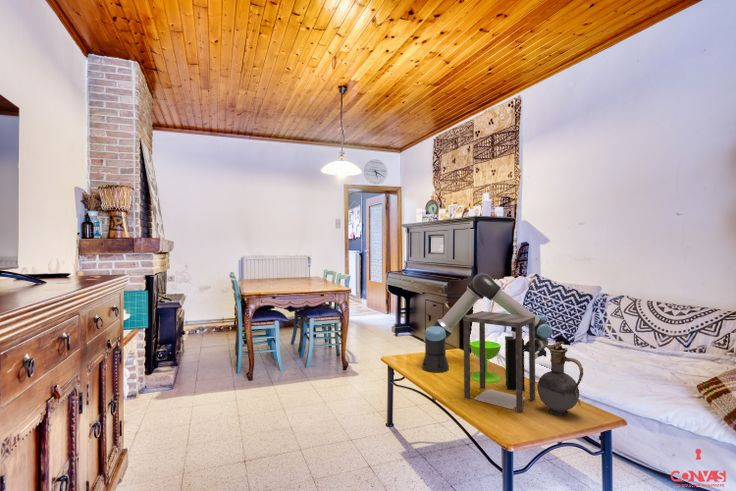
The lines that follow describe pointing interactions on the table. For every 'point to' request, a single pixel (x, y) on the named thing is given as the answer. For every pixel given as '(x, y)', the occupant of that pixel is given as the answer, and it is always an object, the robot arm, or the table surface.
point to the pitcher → (559, 383)
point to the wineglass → (490, 353)
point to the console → (518, 322)
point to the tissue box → (512, 361)
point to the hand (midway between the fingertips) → (521, 354)
